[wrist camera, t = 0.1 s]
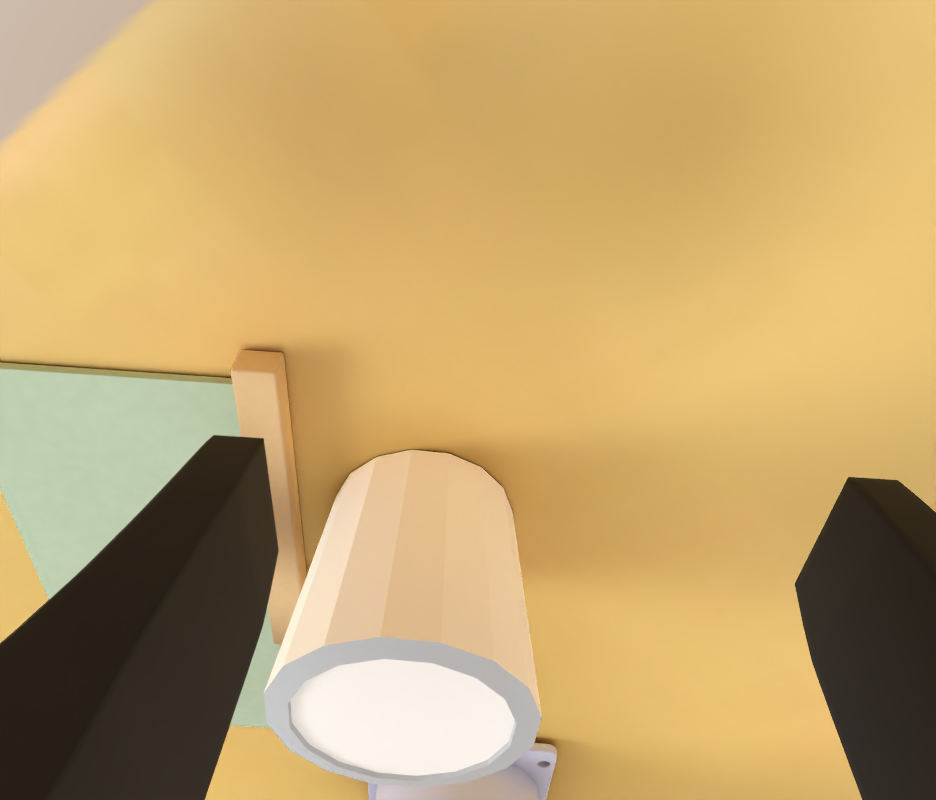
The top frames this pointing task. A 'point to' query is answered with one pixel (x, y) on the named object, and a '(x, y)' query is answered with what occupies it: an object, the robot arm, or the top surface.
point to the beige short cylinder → (410, 631)
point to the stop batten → (274, 471)
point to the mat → (107, 467)
